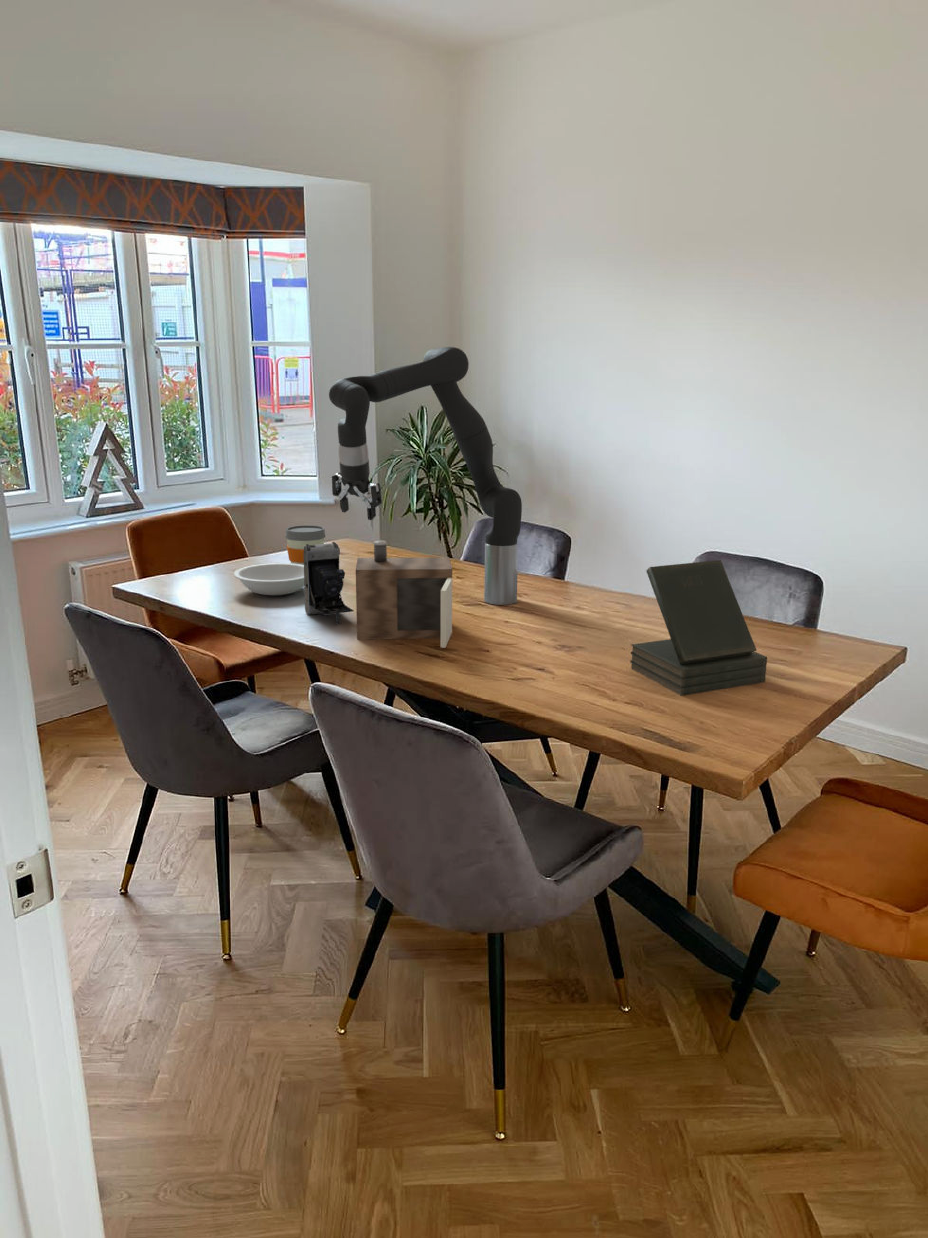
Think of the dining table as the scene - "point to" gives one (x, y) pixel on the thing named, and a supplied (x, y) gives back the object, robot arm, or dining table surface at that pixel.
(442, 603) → the side door
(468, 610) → the dining table surface
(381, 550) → the film canister
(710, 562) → the stack of books
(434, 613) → the walnut box
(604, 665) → the dining table surface
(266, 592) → the soup bowl
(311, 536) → the reusable coffee cup
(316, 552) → the vintage camera
